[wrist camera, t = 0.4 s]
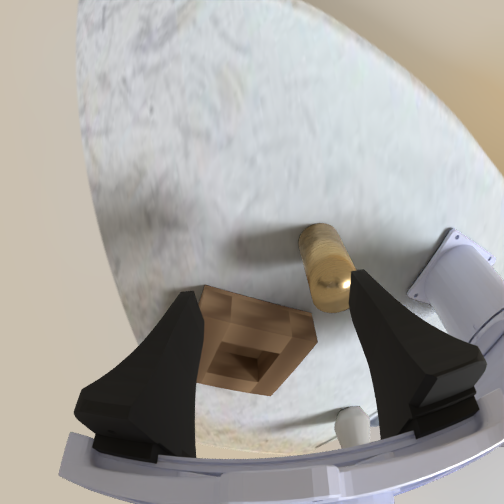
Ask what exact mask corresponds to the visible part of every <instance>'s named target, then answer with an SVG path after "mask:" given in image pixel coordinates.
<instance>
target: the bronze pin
mask: <svg viewBox="0 0 504 504" xmlns="http://www.w3.org/2000/svg"><path fill="white" fill-rule="evenodd" d="M298 245H299V250H300V253H301V257H302V261H303V265H304V268H305V272H306V276H307V280H308V284H309V288H310V292H311V296H312V300H313V303H314V305H315V306H316V307H317V308H318V309H319V310H321V311H323V312H327V313H337V312H341V311H344V310H347V309H349V292H350V280H351V271H356V269H355V266H354V264H353V262H352V260H351V258H350V256H349V254H348V252H347V250H346V248H345V246H344V244H343V242H342V240H341V238H340V236H339V234H338V233H337V231H336V230H335V228H334V227H332V226H331V225H328V224H324V223H318V224H314V225H311V226H309V227H307V228H306V229H305V230H304V231H303V232H302V234H301V235H300V237H299V242H298Z"/></svg>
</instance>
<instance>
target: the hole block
mask: <svg viewBox="0 0 504 504" xmlns="http://www.w3.org/2000/svg"><path fill="white" fill-rule="evenodd" d="M198 305H199V308H200V310H201V313H202V316H203V318H204V321H205V325H204V342H203V348H202V353H201V359H200V364H199V370H198V376H197V382H196V383H201V384H205V385H210V386H214V387H219V388H224V389H230V390H235V391H241V392H247V393H253V394H259V395H266V396H271V395H272V394H273V393H274V392H275V391H276V390H277V389H278V388H279V387H280V386H281V384H282V383H283V382H284V381H285V380H286V379H287V378H288V377H289V376H290V374H291V373H292V372H293V371H294V370H295V369H296V368H297V366H298V365H299V364H300V363H301V362H302V361H303V359H304V358H305V357H306V356H307V355H308V353H309V352H310V351H311V350H312V349H313V347H314V346H315V345H316V344H317V342H318V341H317V336H316V331H315V327H314V322H313V318H312V313H309V312H305V311H301V310H297V309H293V308H289V307H285V306H281V305H277V304H274V303H270V302H266V301H262V300H258V299H254V298H251V297H247V296H243V295H240V294H236V293H232V292H229V291H225V290H222V289H218V288H215V287H211V286H208V285H205V286H204V289H203V292H202V295H201V298H200V301H199V304H198Z"/></svg>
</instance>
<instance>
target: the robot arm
mask: <svg viewBox="0 0 504 504" xmlns="http://www.w3.org/2000/svg"><path fill="white" fill-rule="evenodd" d="M495 262H496V257H495V256H494V255H492V254H491V253H490V252H488V251H487V250H485V249H484V248H483V247H481V246H480V245H478V244H477V243H475V242H474V241H472V240H471V239H469V238H468V237H467V236H465V235H464V234H462V233H460V232H459V231H457V230H456V229H452V230H450V232H449V233H448V235H447V236H446V238H445V239H444V241H443V242H442V244H441V246H440V247H439V249H438V250H437V252H436V253H435V255H434V256H433V257H432V259H431V260H430V262H429V263H428V265H427V266H426V268H425V269H424V270H423V272H422V273H421V274H420V276H419V277H418V279H417V280H416V281H415V283H414V284H413V285H412V287H411V288H410V289H409V291H408V292H407V295H408V297H409V298H412V299H415V300H418V301H421V302H424V303H427V304H431V305H432V307H433V308H434V310H435V312H436V313H437V315H438V317H439V318H440V320H441V322H442V324H443V325H444V327H445V329H446V331H447V333H448V334H447V333H445V332H443V331H441V330H439V329H437V328H436V327H434V326H432V325H430V324H429V323H427V322H425V321H424V320H422V319H421V318H419V317H418V316H417V315H415V314H414V313H412V312H411V311H410V310H408V309H407V308H406V307H405V306H403V305H402V304H401V303H400V302H398V301H397V300H396V299H395V298H394V297H393V296H392V295H390V294H389V293H388V292H387V291H386V290H385V289H384V288H383V287H382V286H381V285H380V284H379V283H377V282H376V281H375V280H374V279H373V278H372V277H371V276H370V275H369V274H368V273H367V272H366V271H365V270H364V269H363V270H356V271H351V280H350V292H349V308H350V313H351V317H352V321H353V324H354V327H355V329H356V332H357V335H358V337H359V340H360V343H361V345H362V348H363V351H364V354H365V356H366V359H367V362H368V365H369V369H370V373H371V378H372V382H373V387H374V392H375V398H376V404H377V410H378V417H379V426H380V435H381V440H379V441H375V442H371V443H366V444H362V445H358V446H353V447H348V448H343V449H338V450H332V451H326V452H320V453H313V454H305V455H297V456H287V457H275V458H259V459H202V458H196V448H195V393H196V382H197V376H198V370H199V364H200V359H201V353H202V348H203V342H204V325H205V321H204V318H203V316H202V313H201V310H200V308H199V305H198V302H197V300H196V297H195V294H194V291H186V292H181V293H180V294H179V295H178V297H177V298H176V299H175V301H174V302H173V304H172V305H171V306H170V308H169V309H168V310H167V312H166V313H165V315H164V316H163V317H162V319H161V320H160V321H159V323H158V324H157V325H156V326H155V328H154V329H153V330H152V331H151V332H150V334H149V335H148V336H147V337H146V338H145V340H144V341H143V342H142V343H141V344H140V345H139V346H138V347H137V348H136V349H135V350H134V351H133V352H132V353H131V354H130V355H129V356H128V357H127V358H125V359H124V360H123V361H122V362H121V363H120V364H119V365H117V366H116V367H115V368H114V369H113V370H111V371H110V372H108V373H107V374H105V375H104V376H103V377H101V378H100V379H98V380H97V381H95V382H93V383H92V384H90V385H88V386H87V387H85V388H83V389H82V390H81V393H80V395H79V398H78V401H77V404H76V407H75V410H74V415H75V417H76V418H77V419H78V420H79V421H80V422H81V423H82V424H84V425H85V426H86V427H87V428H89V429H90V430H91V431H93V432H94V433H95V438H94V439H93V438H91V437H88V436H84V435H81V434H77V433H74V432H70V434H69V437H68V441H67V444H66V447H65V451H64V455H63V459H62V462H61V466H60V470H59V476H60V477H62V478H65V479H66V480H68V481H71V482H73V483H75V484H77V485H79V486H82V487H84V488H86V489H88V490H91V491H94V492H97V493H100V494H103V495H106V496H110V497H112V498H116V499H119V500H123V501H127V502H130V503H135V504H395V502H394V496H396V495H399V494H401V493H404V492H407V491H410V490H413V489H415V488H418V487H420V486H423V485H426V484H428V483H430V482H433V481H435V480H437V479H439V478H442V477H444V476H446V475H448V474H450V473H453V472H455V471H456V470H459V469H460V468H463V467H464V466H467V465H469V464H470V463H472V462H474V461H476V460H478V459H480V458H481V457H483V456H485V455H487V454H488V453H490V452H491V451H493V450H494V449H496V448H497V447H504V280H503V278H502V277H501V276H500V275H499V274H498V272H497V271H496V270H495V269H494V268H493V267H492V266H493V265H494V263H495ZM351 465H354V466H351Z"/></svg>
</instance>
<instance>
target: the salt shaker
mask: <svg viewBox="0 0 504 504" xmlns="http://www.w3.org/2000/svg"><path fill="white" fill-rule="evenodd" d="M334 430H335V432H336V435H337V438H338V440H339V443H340V445H341V448H342V449H343V448H348V447H353V446H358V445H362V444H366V443H370V418H369V416H368V415H367V414H366V413H365V412H364V411H363V410H362V408H361V407H360V406H356V407H349V408H346V409H344V410H341V411H340V412H339V414H338V415H337V419H336V422H335V427H334ZM351 466H354V465H351Z"/></svg>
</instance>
